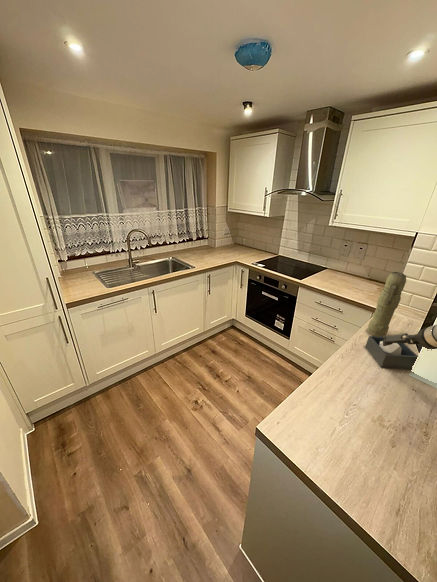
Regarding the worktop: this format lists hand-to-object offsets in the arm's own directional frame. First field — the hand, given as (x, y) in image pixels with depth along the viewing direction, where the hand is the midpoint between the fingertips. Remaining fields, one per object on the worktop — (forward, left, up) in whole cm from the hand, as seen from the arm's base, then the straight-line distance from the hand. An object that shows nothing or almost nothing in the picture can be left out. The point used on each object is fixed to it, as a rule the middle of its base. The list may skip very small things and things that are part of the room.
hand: (401, 345), depth 102 cm
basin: (-1, -5, -11) cm, 12 cm away
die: (0, -5, -10) cm, 11 cm away
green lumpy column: (-6, -25, -11) cm, 28 cm away
